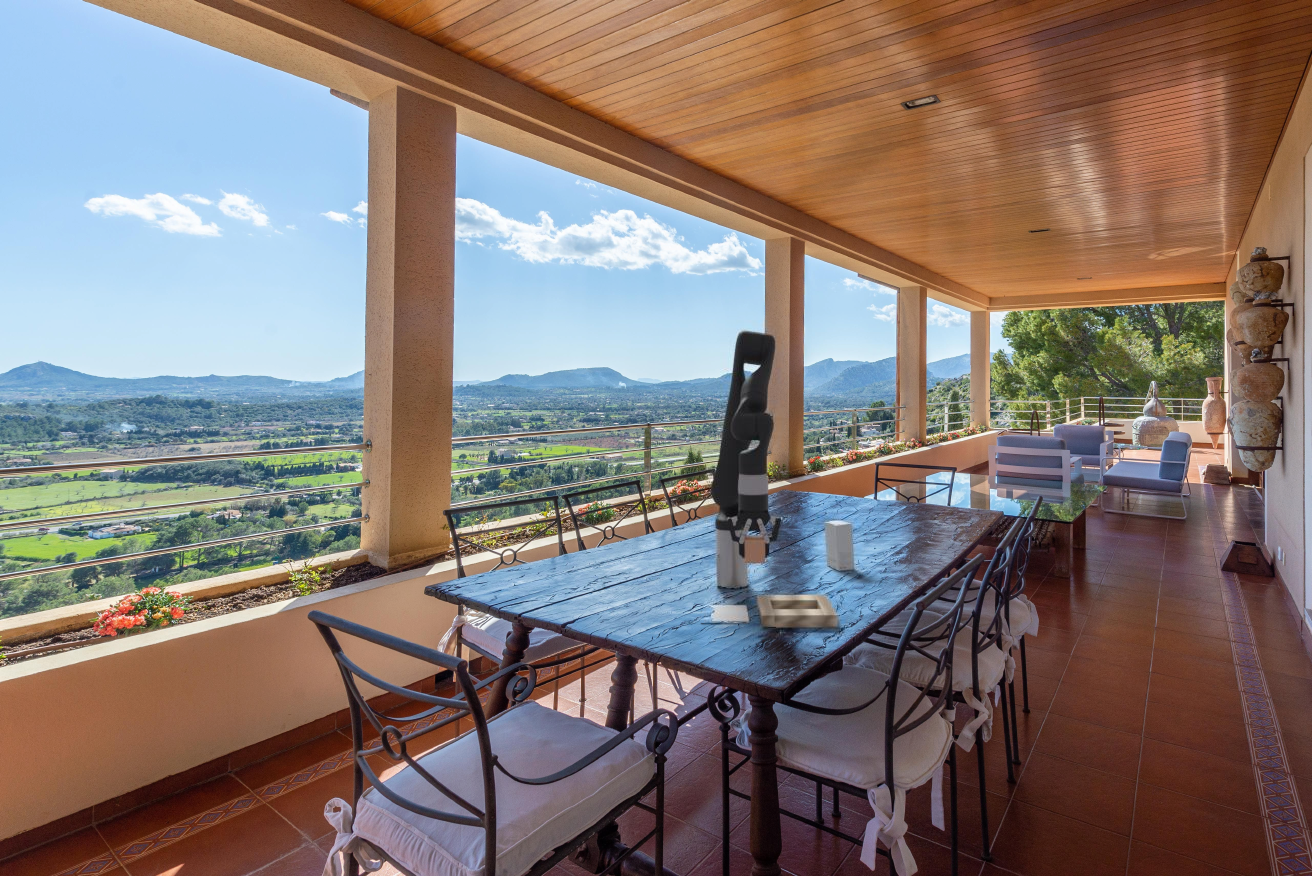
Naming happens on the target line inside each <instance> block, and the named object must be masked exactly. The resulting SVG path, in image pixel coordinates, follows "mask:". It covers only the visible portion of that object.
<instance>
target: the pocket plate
mask: <svg viewBox="0 0 1312 876" xmlns="http://www.w3.org/2000/svg"><path fill="white" fill-rule="evenodd" d="M756 596H757V597H756V599H757V610H759V611H758V615H759V618H760V619H759V620H760V624H761V628H762V627H776V628H838V627H839V626H838V625H839V624H838V623H839V621H838V620H839V619H838V617H839V616H838V613H837V612H836V610H835V608H834V606H833V605H832V603H831V602H830V600H829V598H828V596H827V594H762V595H761V594H758V595H756Z"/></svg>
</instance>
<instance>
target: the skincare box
mask: <svg viewBox="0 0 1312 876" xmlns="http://www.w3.org/2000/svg"><path fill="white" fill-rule="evenodd" d="M824 535H825V538H824V539H825V553H826V554H825V556H826V566H827V567H829V566H830V567H829V568H832V569H834V570H836V571H838V572H841V571H842V572H843V571H854V570H855V553H854V552H855V551H854V536H853V524H852V523H850V522H847V521H844V520H841V519H839V520H829V521H824Z"/></svg>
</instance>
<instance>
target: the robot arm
mask: <svg viewBox="0 0 1312 876" xmlns="http://www.w3.org/2000/svg"><path fill="white" fill-rule="evenodd" d="M734 346H735V347H734V348H735V349H734V353H733V354H734V356H733V363H732V364H733V366H732V373H731V382H730V387H729V393H728V398H727V399H728V400H727V403H726V408H725V414H724V420H723V426H722V434H721V440H720V447H719V456H718V460H717V464H716V468H715V472H714V475H713V479H712V482H711V486H710V494H711V498H712V500H713V501H714V503H715V504H716V505H717V506H719V508H718V513H717V515H716V517H715V522H714V523H715V556H716V557H715V559H716V560H715V561H716V587H717V586H722V587H721V588H723V587H728V588H727V589H731V588H734V589H741V588H740V587H742V588H745V587H747V586H749V574H748V572H749V571H748V569H749V568H748V563H745V561H744V558H745V544H744V540H745V537H746V536H747V535H748V533H750V532H754V531H755V532H760V533H761V535H762V536H763V538H764V539H765V559H767V557H768V556H770V544H771V542H776V541H777V540H778V537H779V536H778V535H779V531H780V526H781V522H782V519H781V518H780V516H773V515H771V514H770V511H769V480H768V479H769V478H768V451H769V447H770V442H771V439H772V435H773V432H774V427H775V423H774V418H773V417H772V416H771V415H770V413H768V412H766V411H767V408H768V397H769V396H768V394H769V392H768V390H769V383H770V379H771V374H772V370H773V364H774V359H775V353H776V339H775V337H774V336H773V335H772V334H769V333H765V332H760V331H750V330H746V329H745V330H740V331H739V333H738V334H737V337H736V342H735V345H734ZM745 364H746V365H752V366H753V365H754V366H758V368H757V369H755V371H753V372H752V373H751V374H750V375H749V376H747V378H746V375H745V374H746V373H745ZM752 441H759V442H758V443H759V444H758V445H757V446H756V447H754V448H750V446H751V443H752ZM770 521H771V524H772V530H771V535H769V536H768V533H767V530H766V526H767V525H768V523H770Z"/></svg>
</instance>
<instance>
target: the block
mask: <svg viewBox="0 0 1312 876" xmlns="http://www.w3.org/2000/svg"><path fill="white" fill-rule="evenodd" d="M744 544H745V558H744V561H745V563H747V564H766V558H765V539H764V538H763V536H762V534H760V535H759V534H758V535H755V534H754V535H753V534H751V535H748V534H747V536H746V537H745V540H744Z"/></svg>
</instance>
